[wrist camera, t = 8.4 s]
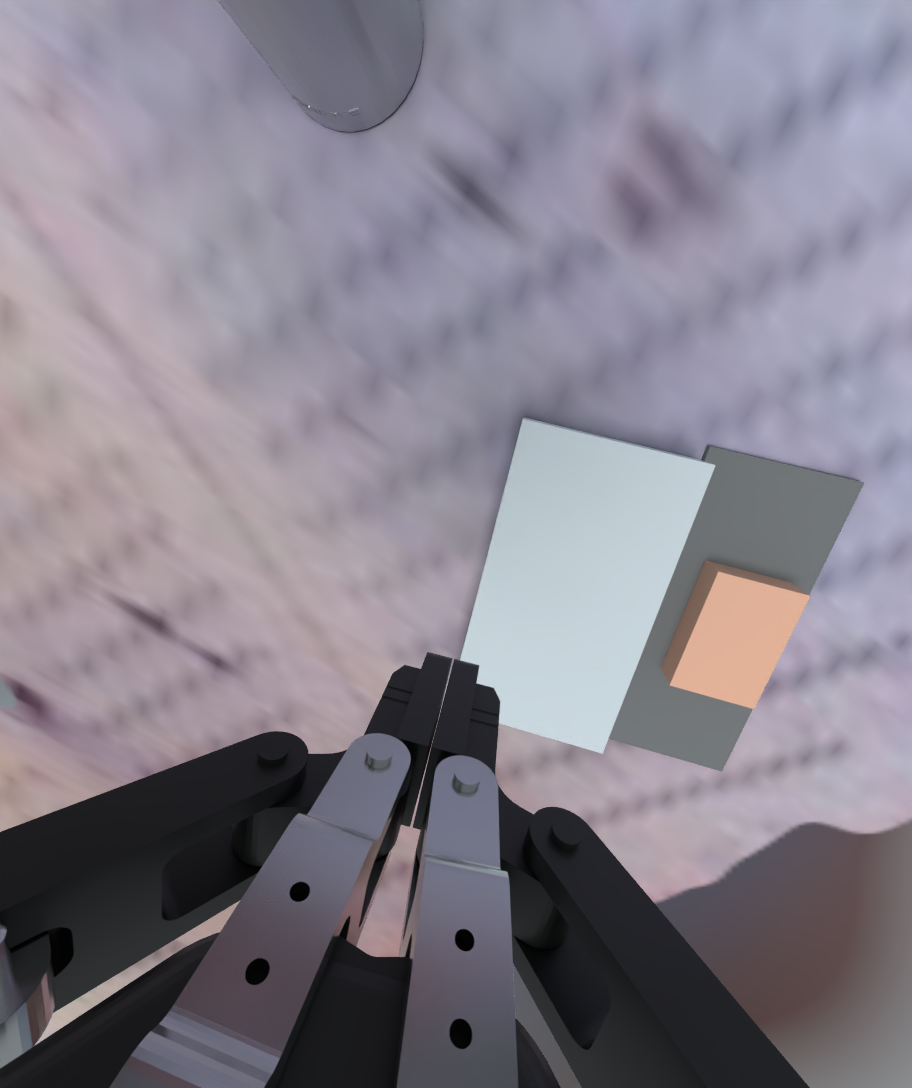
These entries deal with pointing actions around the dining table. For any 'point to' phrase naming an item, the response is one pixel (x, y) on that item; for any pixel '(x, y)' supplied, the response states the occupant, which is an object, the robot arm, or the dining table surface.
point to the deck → (578, 576)
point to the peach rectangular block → (732, 633)
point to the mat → (745, 543)
